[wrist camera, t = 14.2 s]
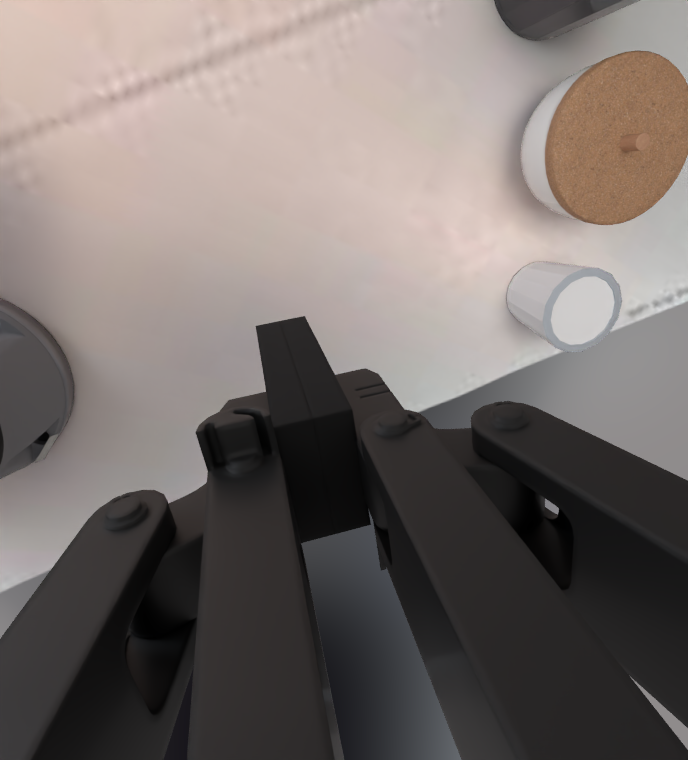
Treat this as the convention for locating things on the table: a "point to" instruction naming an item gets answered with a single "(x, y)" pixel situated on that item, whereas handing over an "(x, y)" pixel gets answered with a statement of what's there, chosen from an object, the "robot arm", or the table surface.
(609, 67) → the trinket box
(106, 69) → the table surface
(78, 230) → the table surface
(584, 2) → the pen cup
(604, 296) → the white cylinder
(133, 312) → the table surface
